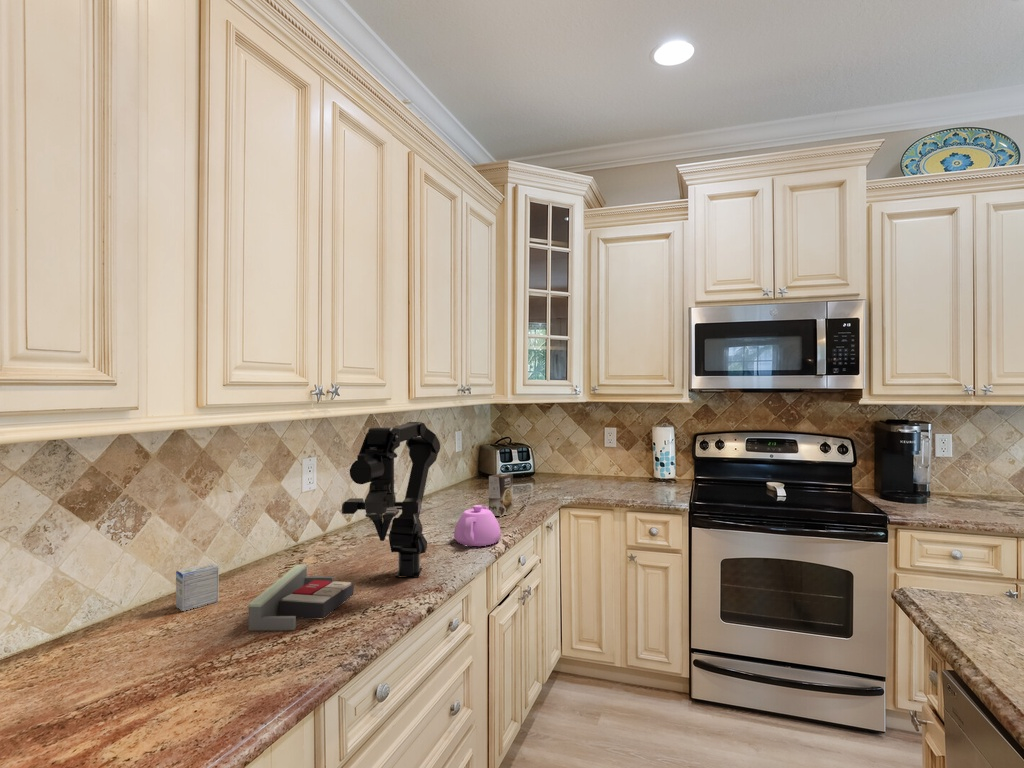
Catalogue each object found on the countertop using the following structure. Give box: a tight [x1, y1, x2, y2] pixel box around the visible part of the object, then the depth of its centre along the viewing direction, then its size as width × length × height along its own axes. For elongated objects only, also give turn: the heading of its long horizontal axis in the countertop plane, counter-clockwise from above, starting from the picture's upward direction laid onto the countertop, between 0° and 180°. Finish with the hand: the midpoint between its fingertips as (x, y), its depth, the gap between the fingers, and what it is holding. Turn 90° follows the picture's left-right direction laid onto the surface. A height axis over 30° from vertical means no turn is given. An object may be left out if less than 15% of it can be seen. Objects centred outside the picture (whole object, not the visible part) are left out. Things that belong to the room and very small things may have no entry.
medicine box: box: [175, 562, 220, 612], centre depth 129 cm, size 8×4×9 cm, turn 141°
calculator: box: [278, 580, 354, 619], centre depth 129 cm, size 11×4×15 cm
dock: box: [247, 564, 335, 631], centre depth 128 cm, size 26×10×6 cm, turn 0°
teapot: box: [453, 504, 502, 547], centre depth 182 cm, size 22×16×12 cm
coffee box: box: [488, 473, 514, 516], centre depth 221 cm, size 9×6×16 cm
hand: (382, 540), depth 136 cm, fingers closed
